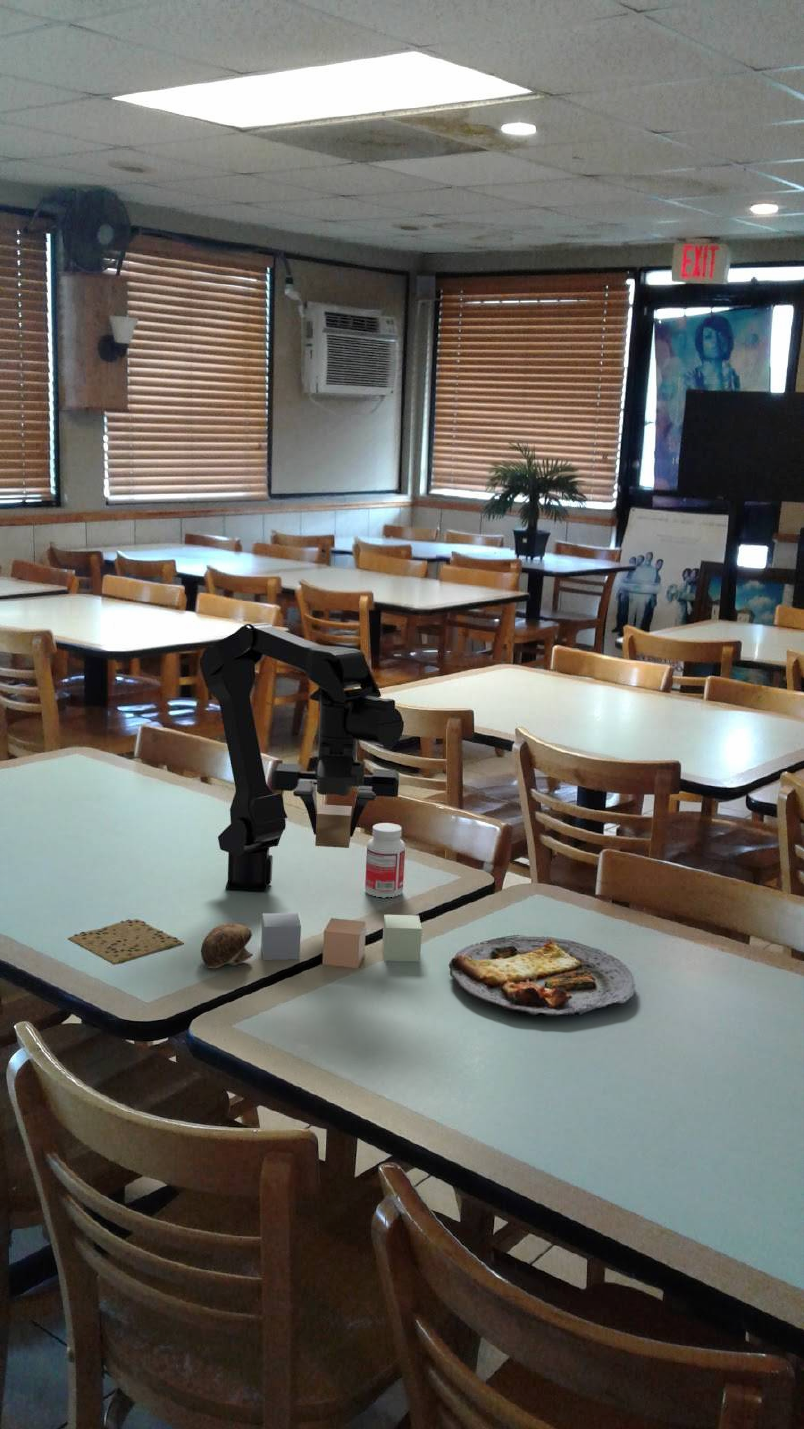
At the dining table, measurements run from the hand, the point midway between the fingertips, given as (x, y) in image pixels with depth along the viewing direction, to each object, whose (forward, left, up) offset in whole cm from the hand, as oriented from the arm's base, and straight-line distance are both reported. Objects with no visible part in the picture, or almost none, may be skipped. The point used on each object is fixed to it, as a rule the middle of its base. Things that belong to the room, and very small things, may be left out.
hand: (333, 835), depth 190 cm
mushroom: (-13, -20, -13) cm, 27 cm away
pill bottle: (+8, +12, -13) cm, 20 cm away
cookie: (-28, -14, -14) cm, 34 cm away
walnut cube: (0, 0, -1) cm, 1 cm away
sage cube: (+11, -13, -13) cm, 21 cm away
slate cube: (-6, -15, -13) cm, 21 cm away
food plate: (+30, -21, -13) cm, 39 cm away
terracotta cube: (+3, -16, -13) cm, 21 cm away
